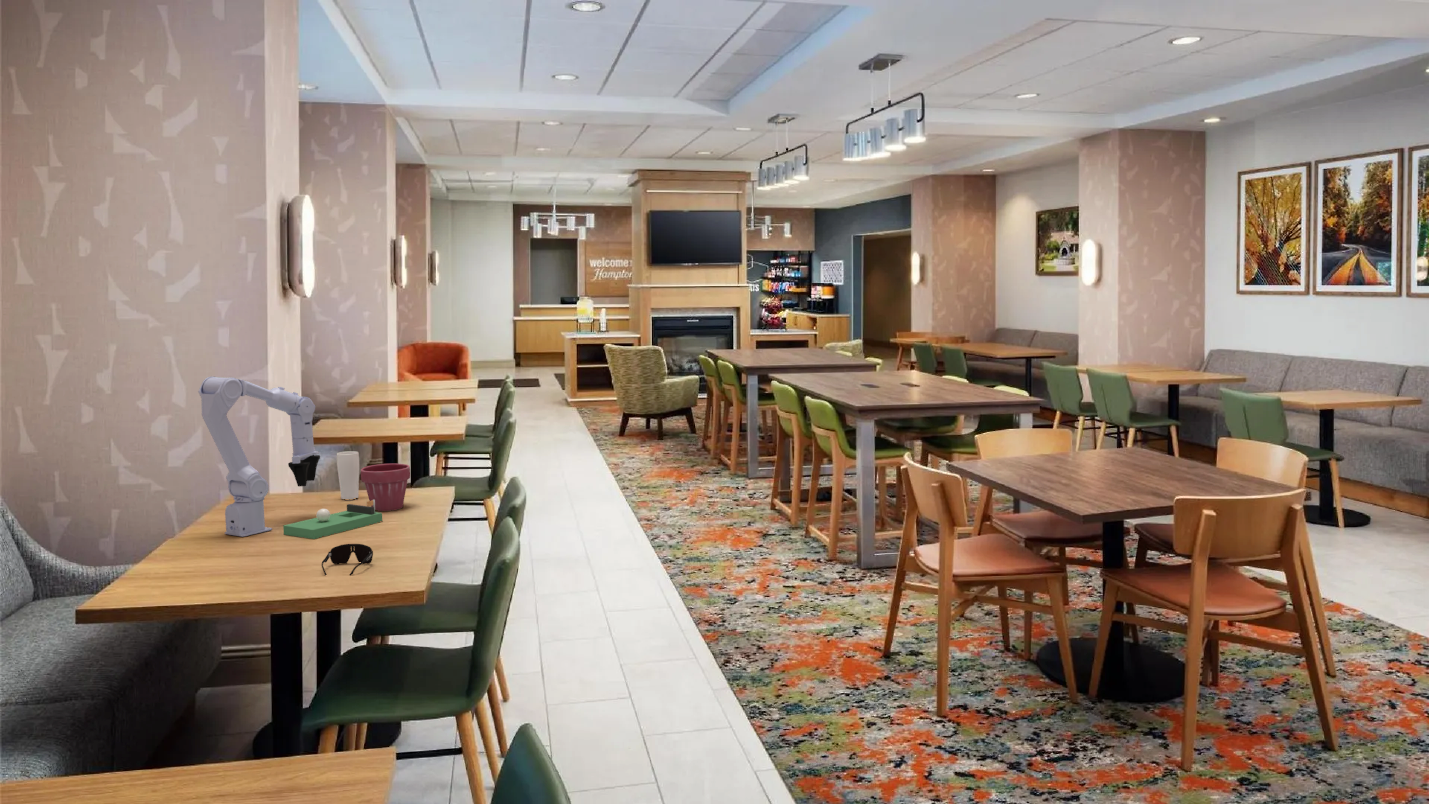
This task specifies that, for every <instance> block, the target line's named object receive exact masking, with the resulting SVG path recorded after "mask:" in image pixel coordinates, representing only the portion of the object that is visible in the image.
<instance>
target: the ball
mask: <svg viewBox="0 0 1429 804" xmlns="http://www.w3.org/2000/svg"><path fill="white" fill-rule="evenodd" d="M330 514H331V512H330V510H329V509H327V508H320V509H318V510H317V512H316V515H315V516H316V518H317V519H318V520H319V521H321V522H325V521H327V520H328V519H329V518H330Z"/></svg>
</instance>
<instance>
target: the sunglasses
mask: <svg viewBox="0 0 1429 804" xmlns="http://www.w3.org/2000/svg"><path fill="white" fill-rule="evenodd" d="M352 553H354V555H355V558H356V560H357V563H358V564H357V565H355V567H353V569H352V570H351V571H350V574H349V576H352V575H351V574H353V575H354V572H355V570H356V569H357V568H358V567H359V566H361V565H363V563H369V564H370V563H372V561H373V557H374V550H373V549H372V548H371V547H370V546H368V545H365V544H363V543H344V544H339V545H336V546H334V547H332V548H330V551H328V552H327V555H326V556H325V557H324V559H323V560H322V562H321V568H322V571H323V574H324V576H325V575H327V576H328V574H327V572H326V570H325V567H324V563H327V562H328V561H329V560H330V561H331V563H332V564H334V565H340V564H339V563H346V564H347V563H348V562H349V560H350V557H351V555H352ZM359 562H361V563H359Z"/></svg>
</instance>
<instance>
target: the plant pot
mask: <svg viewBox="0 0 1429 804" xmlns="http://www.w3.org/2000/svg"><path fill="white" fill-rule="evenodd" d="M410 478H411V468H410V464H406V463H381V464H380V463H379V464H372V465H367V466H364V467H362V468H360V481H361V482H362V483H364V486H365V490H366V493H367V497H368V501H372V500H375V510H378V511H377V512H391V510H392V511H397V510H401V509H402V508H403V507H404V502H405V497H406V496H405V495H406V492H407V491H406V490H407V485H408V484H407V483H408V481H409V479H410ZM370 507H373V505H372V506H370Z"/></svg>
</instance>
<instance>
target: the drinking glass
mask: <svg viewBox="0 0 1429 804" xmlns="http://www.w3.org/2000/svg"><path fill="white" fill-rule="evenodd" d="M336 469H337V474H338V481H339V483H338V484H339V491H340V498H341V500H342V499H354V498H359V497H360V495H359V489H360V488H359V487H360V485H359V484H360V454H359V451H353V450H352V451H350V450H349V451H340V452H337V453H336Z"/></svg>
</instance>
